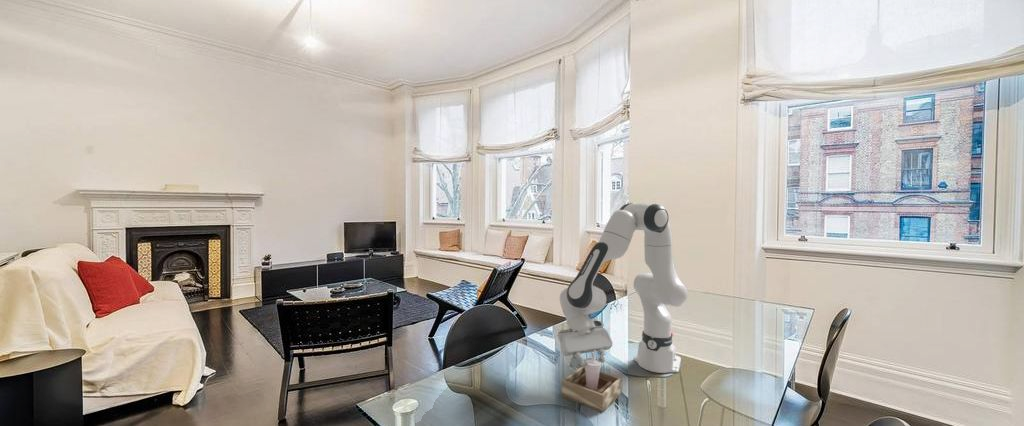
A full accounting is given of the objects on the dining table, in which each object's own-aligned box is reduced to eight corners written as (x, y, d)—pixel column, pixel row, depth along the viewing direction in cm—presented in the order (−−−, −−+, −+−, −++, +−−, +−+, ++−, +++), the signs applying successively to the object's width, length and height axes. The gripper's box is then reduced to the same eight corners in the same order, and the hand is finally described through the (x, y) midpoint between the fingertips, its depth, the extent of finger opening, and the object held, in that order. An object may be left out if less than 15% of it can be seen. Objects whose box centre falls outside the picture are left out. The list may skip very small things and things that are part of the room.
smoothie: (601, 393, 142) (602, 354, 141) (582, 390, 143) (584, 352, 143) (600, 384, 149) (602, 347, 148) (582, 382, 150) (584, 345, 149)
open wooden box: (582, 380, 158) (583, 365, 157) (621, 393, 148) (622, 378, 147) (561, 396, 145) (562, 380, 144) (602, 412, 135) (603, 395, 135)
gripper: (559, 327, 147) (571, 364, 139) (606, 321, 155) (620, 356, 146) (553, 334, 152) (565, 371, 143) (599, 328, 159) (613, 363, 151)
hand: (593, 363), depth 145 cm, fingers closed on smoothie, 6 cm apart
